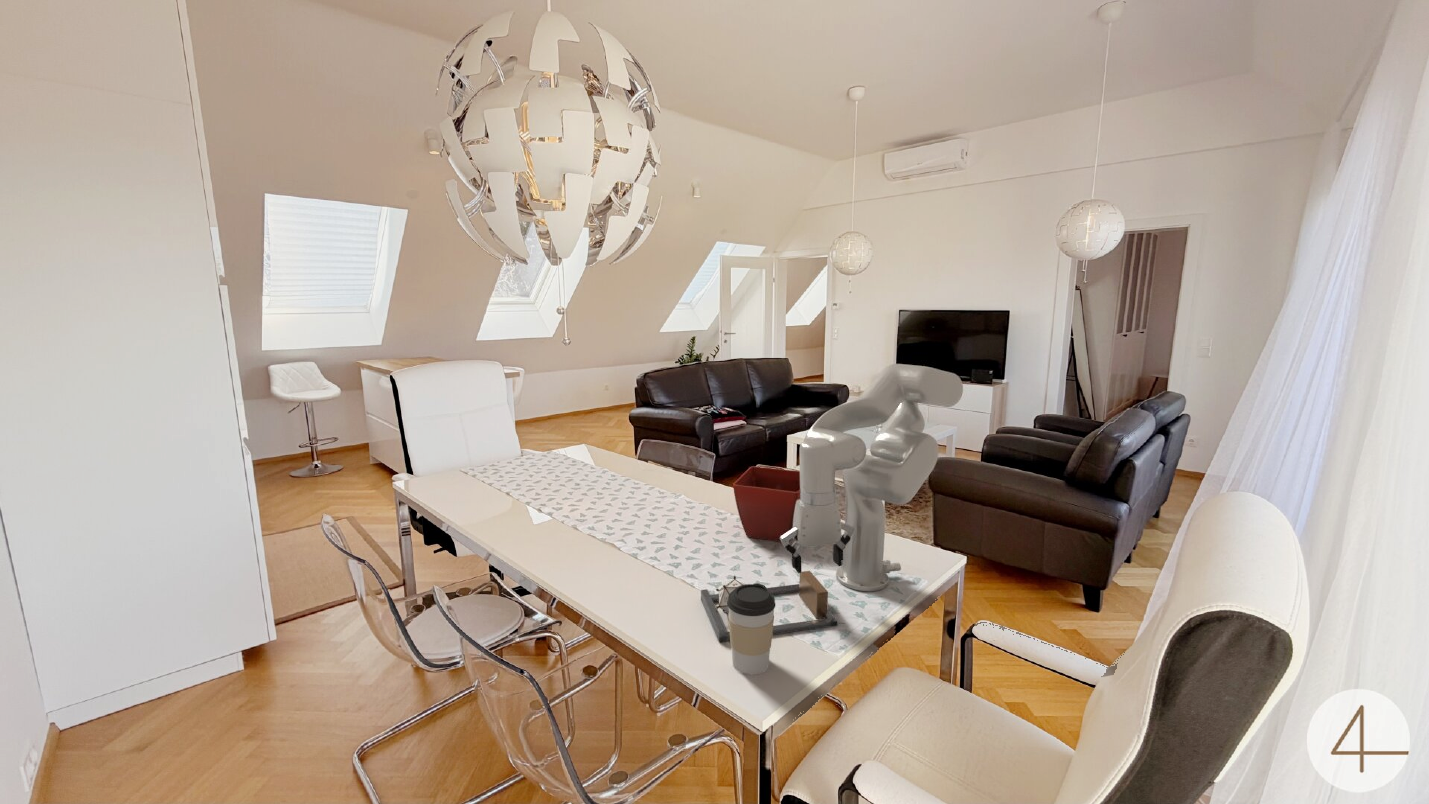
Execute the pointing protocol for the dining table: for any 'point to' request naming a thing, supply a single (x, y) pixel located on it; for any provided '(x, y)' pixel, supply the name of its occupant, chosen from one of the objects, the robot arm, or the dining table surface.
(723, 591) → the game die
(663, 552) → the dining table surface
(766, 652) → the coffee cup
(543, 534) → the dining table surface
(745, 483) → the plant pot
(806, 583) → the frame
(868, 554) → the robot arm
